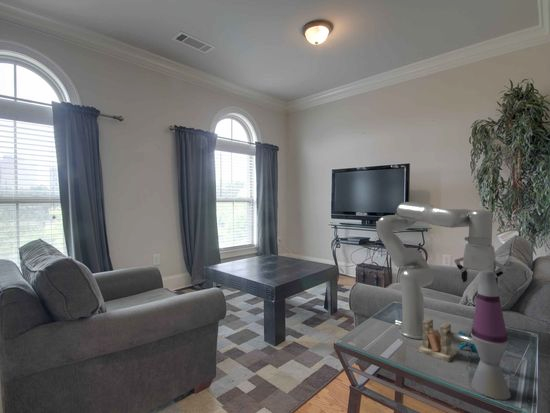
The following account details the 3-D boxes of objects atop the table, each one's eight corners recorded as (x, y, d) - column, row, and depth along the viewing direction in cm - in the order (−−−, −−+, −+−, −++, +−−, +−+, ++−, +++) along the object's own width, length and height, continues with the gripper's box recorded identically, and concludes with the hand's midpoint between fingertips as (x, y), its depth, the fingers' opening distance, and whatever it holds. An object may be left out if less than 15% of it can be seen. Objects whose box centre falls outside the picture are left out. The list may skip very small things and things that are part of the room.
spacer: (433, 350, 121) (427, 334, 123) (438, 345, 125) (433, 330, 127) (438, 350, 120) (432, 334, 121) (443, 345, 124) (437, 330, 126)
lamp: (516, 392, 96) (513, 271, 96) (502, 404, 90) (499, 276, 90) (479, 376, 105) (477, 266, 105) (465, 386, 99) (462, 270, 99)
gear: (482, 354, 117) (461, 332, 122) (470, 363, 119) (449, 341, 123) (480, 347, 126) (460, 327, 131) (469, 354, 128) (450, 334, 133)
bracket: (417, 351, 124) (416, 322, 124) (426, 343, 131) (426, 315, 131) (448, 362, 115) (447, 330, 115) (457, 353, 122) (456, 323, 122)
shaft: (445, 338, 119) (445, 315, 119) (448, 335, 121) (447, 313, 121) (502, 354, 105) (501, 328, 105) (504, 351, 107) (503, 326, 107)
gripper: (452, 239, 119) (451, 281, 119) (505, 245, 106) (503, 291, 106) (458, 238, 124) (457, 277, 124) (509, 243, 111) (508, 287, 111)
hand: (478, 284), depth 115 cm, fingers open, 9 cm apart
